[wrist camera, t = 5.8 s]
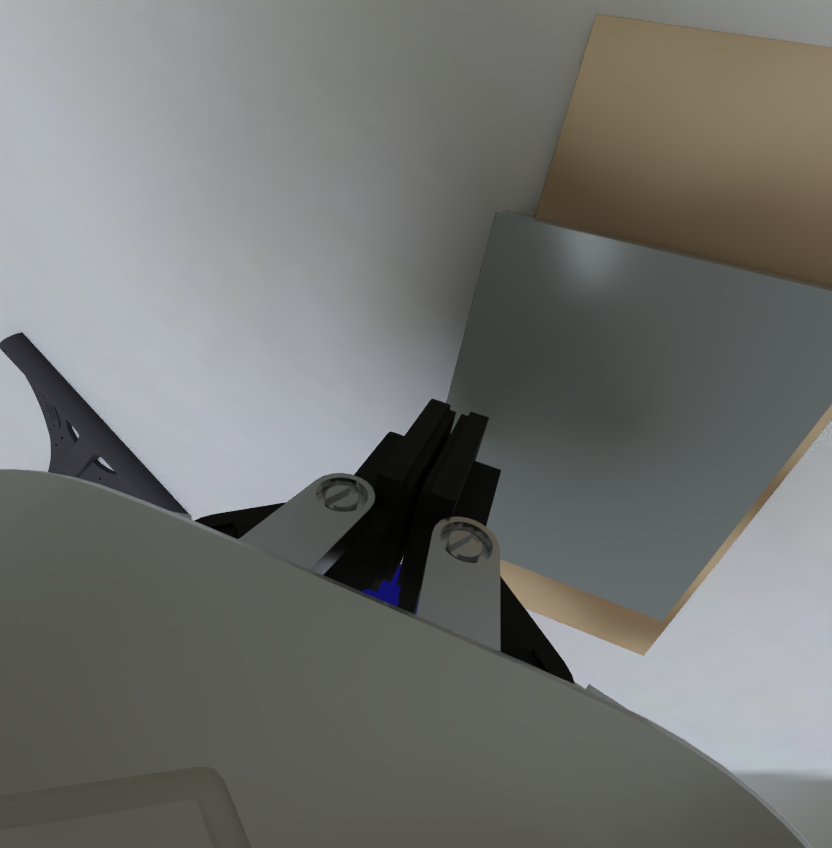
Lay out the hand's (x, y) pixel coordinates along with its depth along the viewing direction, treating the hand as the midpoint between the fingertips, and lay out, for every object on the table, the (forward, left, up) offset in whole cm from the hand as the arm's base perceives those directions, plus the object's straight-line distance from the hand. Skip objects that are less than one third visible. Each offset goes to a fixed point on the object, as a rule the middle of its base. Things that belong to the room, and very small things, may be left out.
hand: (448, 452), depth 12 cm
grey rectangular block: (0, -1, -4) cm, 4 cm away
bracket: (+16, -26, -7) cm, 31 cm away
